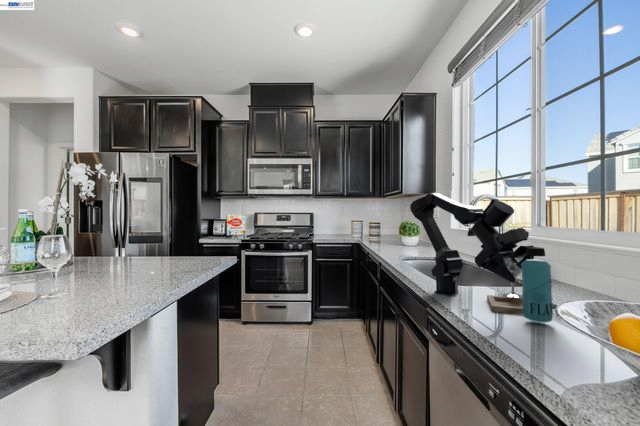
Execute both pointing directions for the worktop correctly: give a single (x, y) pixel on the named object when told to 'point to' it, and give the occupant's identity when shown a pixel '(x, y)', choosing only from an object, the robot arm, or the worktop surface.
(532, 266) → the beverage bottle
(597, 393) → the worktop surface
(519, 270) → the wine glass
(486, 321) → the worktop surface
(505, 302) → the walnut tray
